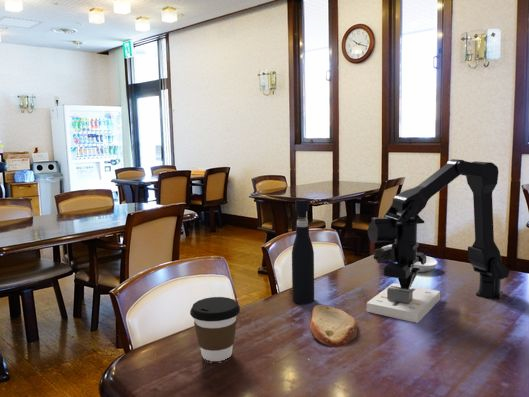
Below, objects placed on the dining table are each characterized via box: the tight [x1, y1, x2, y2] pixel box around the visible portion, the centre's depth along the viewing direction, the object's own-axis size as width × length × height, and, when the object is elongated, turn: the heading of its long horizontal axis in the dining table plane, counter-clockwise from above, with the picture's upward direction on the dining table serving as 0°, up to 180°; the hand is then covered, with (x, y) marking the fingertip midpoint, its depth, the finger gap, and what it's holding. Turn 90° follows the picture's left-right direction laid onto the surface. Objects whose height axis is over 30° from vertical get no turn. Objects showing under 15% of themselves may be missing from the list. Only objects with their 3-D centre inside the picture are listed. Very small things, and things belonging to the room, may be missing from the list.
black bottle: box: [291, 198, 315, 305], centre depth 133 cm, size 6×6×30 cm
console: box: [365, 282, 441, 324], centre depth 129 cm, size 20×14×3 cm
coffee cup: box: [189, 296, 241, 361], centre depth 101 cm, size 11×11×12 cm
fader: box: [387, 286, 413, 304], centre depth 125 cm, size 3×6×3 cm, turn 54°
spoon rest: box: [375, 244, 439, 273], centre depth 166 cm, size 24×12×7 cm, turn 39°
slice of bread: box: [309, 304, 358, 348], centre depth 116 cm, size 18×18×4 cm
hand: (405, 293), depth 128 cm, fingers closed
